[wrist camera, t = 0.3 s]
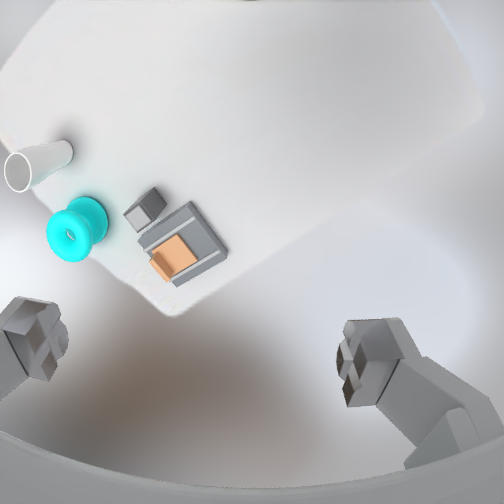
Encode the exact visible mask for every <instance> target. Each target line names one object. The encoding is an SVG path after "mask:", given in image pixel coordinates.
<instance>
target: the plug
mask: <svg viewBox="0 0 504 504" xmlns="http://www.w3.org/2000/svg"><path fill="white" fill-rule="evenodd" d="M166 205H167V204H166V202H165V201H164V200H163V198H162V197H161V196H160V194H159V193H158V192H157V190H156V189H155V188H154V187H153V188H152V189H151V190H149V191H148V192H147V193H145V194H144V195H143V196H142V197H140V198H139V199H138V200H137V201H136V202H135V203H134V204H133V205H132V206H131V207H130V208H129V209H128V210H127V211H126V212H125V213H124V214H123V215H124V216H125V218H126V219H127V220H128V221H129V223H130V224H131V225H132V226H133V228H134V229H135V230H136V231H137V233H138V232H140V231H141V230H143V229H144V228H145V227H147V226H148V225H149V224H151V223H152V222H154V221H155V220H156V219H157V217H158V216H159V214H160V213H161V212H162V210H163V209H164V207H165V206H166Z"/></svg>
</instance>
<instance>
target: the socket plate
mask: <svg viewBox="0 0 504 504" xmlns="http://www.w3.org/2000/svg"><path fill="white" fill-rule="evenodd" d="M176 233H178V234H179V235H180V236H181V238H182V239H183V240H184V242H185V243H186V244H187V245H188V247H189V248H190V249H191V250H192V252H193V253H194V254H195V255H196V257H197V258H198V260H197V261H196V262H194V263H193V264H191V265H189V266H188V267H186V268H184V269H183V270H181V271H179V272H178V273H176V274H174V275H173V276H172V277H171V280H169V282H171V281H172V283H173V284H174V285H175V286H176V287H178V286H180V285H182V284H184V283H185V282H187V281H189V280H190V279H192V278H194V277H196V276H197V275H199V274H201V273H203V272H204V271H206V270H208V269H210V268H211V267H213V266H215V265H217V264H218V263H220V262H222V261H224V260H225V259H227V252H228V251H227V250H226V248H225V247H224V246H223V244H222V243H221V242H220V240H219V239H218V238H217V236H216V235H215V234H214V232H213V231H212V230H211V228H210V227H209V226H208V224H207V223H206V222H205V220H204V219H203V218H202V216H201V215H200V214H199V212H198V211H197V210H196V208H195V207H194V205H193V204H192V203H191V201H190V202H188V203H187V204H185V205H184V206H182V207H181V208H180V209H178V210H177V211H175V212H174V213H172V214H171V215H169V216H168V217H166V218H165V219H164V220H162V221H161V222H159V223H158V224H156V225H155V226H154V227H152V228H151V229H149V230H148V231H147V232H145V233H144V234H142V236H141V237H140V239H139V240H138V242H139V243H140V245H141V246H142V247H143V248H144V250H143V251H144V252H147V253H148V254H149V256H150V257H152V255H153V253H152V252H151V251H152V249H154V248H155V247H157V246H158V245H160V244H161V243H163V242H164V241H166V240H167V239H169V238H170V237H172V236H173V235H175V234H176Z"/></svg>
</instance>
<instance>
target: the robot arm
mask: <svg viewBox="0 0 504 504" xmlns="http://www.w3.org/2000/svg"><path fill="white" fill-rule="evenodd" d="M60 316H61V313H60V310H59V307H58V305H57V304H55V303H53V302H49V301H42V300H37V299H32V298H25V297H20V296H19V297H15V298H14V299H13V300H12V301H11V302H10V304H8V306H7V307H6V308H5V309H4V310H3V311H2V313H1V314H0V401H1V400H2V399H3V398H4V397H5V396H7V395H8V394H9V393H10V392H11V391H12V390H14V389H15V388H16V387H17V386H19V385H20V384H21V383H22V382H24V381H25V380H26V379H28V377H32V378H36V379H40V380H44V381H48V382H49V381H50V379H51V377H52V376H53V374H54V372H55V370H56V368H57V359H59V358H61V357H62V356H64V354H65V352H66V350H67V346H68V341H69V339H68V332H67V329H66V326H65V325H64V324H63V323H62V322H61V321H60V320H59V319H60ZM343 333H344V336H345V339H344V340H343V341H342V342H341V343H340V344H339V348H338V351H337V360H336V363H337V370H338V374H339V376H340V377H341V378H342V379H343V380H344V381H345V383H344V385H343V388H342V390H343V393H344V397H345V400H346V405H347V407H360V406H371V405H376V407H377V408H378V409H379V410H380V411H381V412H382V413H383V414H384V415H385V416H386V417H387V418H388V419H389V420H390V421H391V422H392V423H393V424H394V425H395V426H396V427H397V428H398V429H399V430H400V431H401V432H402V433H403V434H404V435H405V436H406V437H407V438H408V439H409V440H410V441H411V442H412V443H413V444H414V445H415V446H416V447H417V448H416V449H415V450H414V451H413V452H412V453H411V455H410V456H409V457H408V458H407V459H406V460H405V462H404V466H405V469H406V470H403V471H399V472H395V473H390V474H386V475H381V476H376V477H372V478H366V479H360V480H354V481H347V482H340V483H333V484H324V485H314V486H302V487H286V488H228V487H212V486H199V485H190V484H181V483H174V482H167V481H160V480H154V479H148V478H143V477H138V476H133V475H128V474H124V473H119V472H115V471H111V470H107V469H103V468H99V467H96V466H92V465H89V464H85V463H82V462H79V461H76V460H72V459H69V458H66V457H63V456H60V455H58V454H55V453H52V452H49V451H47V450H44V449H41V448H39V447H37V446H34V445H32V444H29V443H27V442H24V441H22V440H20V439H18V438H15V437H13V436H11V435H9V434H7V433H5V432H3V431H1V430H0V504H504V426H503V424H502V422H501V420H500V418H499V416H498V414H497V412H496V410H495V408H494V406H493V405H492V403H491V401H490V399H489V398H488V397H487V396H486V395H484V394H482V393H481V392H480V391H478V390H477V389H475V388H474V387H472V386H470V385H469V384H468V383H466V382H464V381H463V380H461V379H460V378H458V377H457V376H455V375H454V374H452V373H451V372H449V371H448V370H446V369H445V368H443V367H442V366H440V365H439V364H437V363H436V362H434V361H433V360H431V359H429V358H428V357H422V356H421V354H420V352H419V351H418V348H417V347H416V345H415V343H414V341H413V339H412V338H411V336H410V334H409V332H408V331H407V329H406V327H405V326H404V324H403V322H402V320H401V319H399V318H384V319H368V320H348V321H347V322H346V324H345V327H344V330H343Z"/></svg>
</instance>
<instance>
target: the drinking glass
mask: <svg viewBox="0 0 504 504" xmlns="http://www.w3.org/2000/svg"><path fill="white" fill-rule="evenodd" d="M72 157H73V149H72V146H71V145H70V143H69V142H67V141H65V140H59V141H56V142H50V143H45V144H40V145H35V146H30V147H26V148H23V149H21V150H18V151H16V152H14V153H12V154H10V155H9V157H8V158H7V160H6V162H5V166H4V174H5V179H6V181H7V184H8V185H9V187H10V188H11V189H12V190H14V191H16V192H24V191H25V190H28V189H30V188H32V187H34V186H36V185H37V184H39V183H40V182H42V181H43V180H45V179H46V178H47V177H49V176H50V175H52V174H53V173H55V172H56V171H58V170H59V169H61V168H62V167H64V166H66V165H68V164H69V163H70V162H71V160H72Z"/></svg>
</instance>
